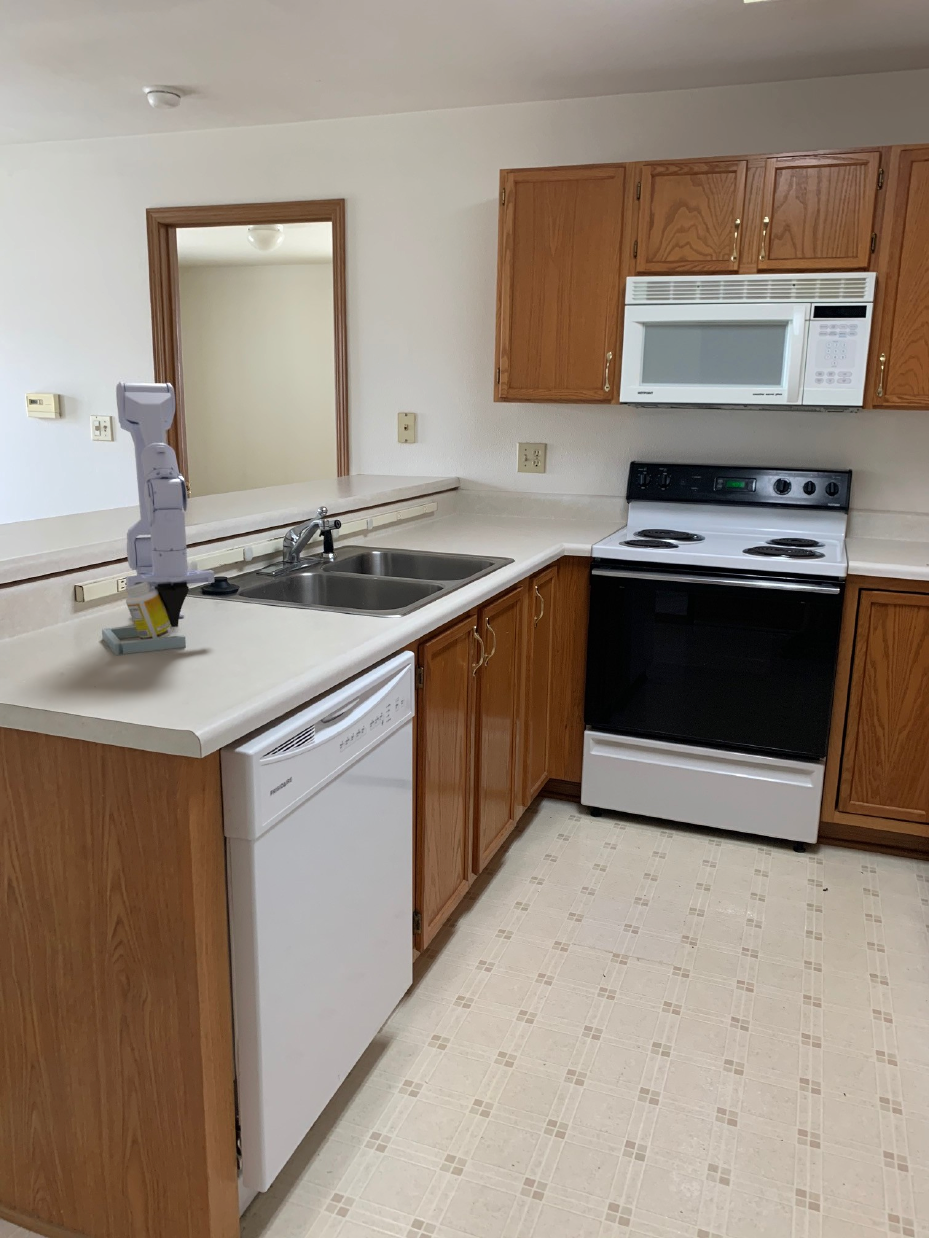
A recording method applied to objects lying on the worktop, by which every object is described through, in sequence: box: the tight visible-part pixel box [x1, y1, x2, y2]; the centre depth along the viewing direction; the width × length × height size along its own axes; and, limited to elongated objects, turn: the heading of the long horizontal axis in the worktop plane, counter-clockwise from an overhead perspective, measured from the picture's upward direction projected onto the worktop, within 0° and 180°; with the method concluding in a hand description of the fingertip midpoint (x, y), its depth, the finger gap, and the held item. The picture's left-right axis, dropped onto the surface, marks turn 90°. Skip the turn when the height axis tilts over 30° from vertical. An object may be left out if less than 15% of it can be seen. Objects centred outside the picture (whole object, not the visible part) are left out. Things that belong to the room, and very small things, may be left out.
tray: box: [101, 625, 187, 656], centre depth 158 cm, size 12×11×2 cm
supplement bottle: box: [125, 582, 174, 640], centre depth 157 cm, size 6×6×10 cm
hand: (173, 625), depth 160 cm, fingers closed
